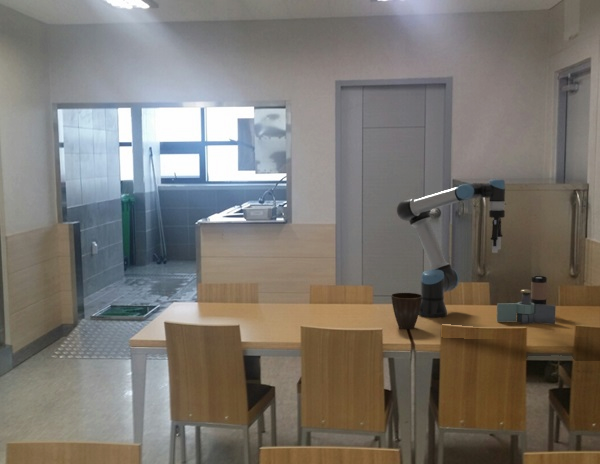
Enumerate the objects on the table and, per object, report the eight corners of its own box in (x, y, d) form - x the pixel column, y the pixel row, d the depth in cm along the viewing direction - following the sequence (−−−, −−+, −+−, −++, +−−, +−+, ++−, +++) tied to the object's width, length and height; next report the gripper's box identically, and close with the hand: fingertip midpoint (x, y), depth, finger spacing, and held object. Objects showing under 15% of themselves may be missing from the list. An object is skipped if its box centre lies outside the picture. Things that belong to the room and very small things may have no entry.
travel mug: (547, 316, 350) (547, 278, 348) (531, 316, 352) (532, 278, 350) (544, 313, 358) (545, 276, 356) (529, 312, 359) (530, 275, 357)
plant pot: (418, 323, 339) (418, 292, 338) (424, 330, 324) (425, 298, 323) (389, 324, 339) (389, 292, 337) (393, 331, 324) (393, 298, 322)
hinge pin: (519, 322, 338) (520, 290, 337) (520, 320, 343) (521, 289, 342) (530, 323, 336) (531, 291, 335) (531, 321, 341) (532, 289, 339)
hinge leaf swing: (531, 319, 343) (531, 301, 342) (535, 323, 335) (536, 305, 334) (495, 319, 344) (495, 302, 343) (499, 323, 336) (499, 305, 335)
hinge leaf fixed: (516, 322, 337) (516, 304, 336) (517, 319, 345) (518, 301, 344) (554, 325, 330) (555, 307, 329) (555, 322, 338) (555, 303, 337)
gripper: (501, 211, 331) (501, 254, 333) (507, 208, 354) (506, 248, 356) (486, 211, 334) (485, 253, 336) (492, 208, 357) (492, 247, 359)
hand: (496, 251), depth 346 cm, fingers open, 13 cm apart
